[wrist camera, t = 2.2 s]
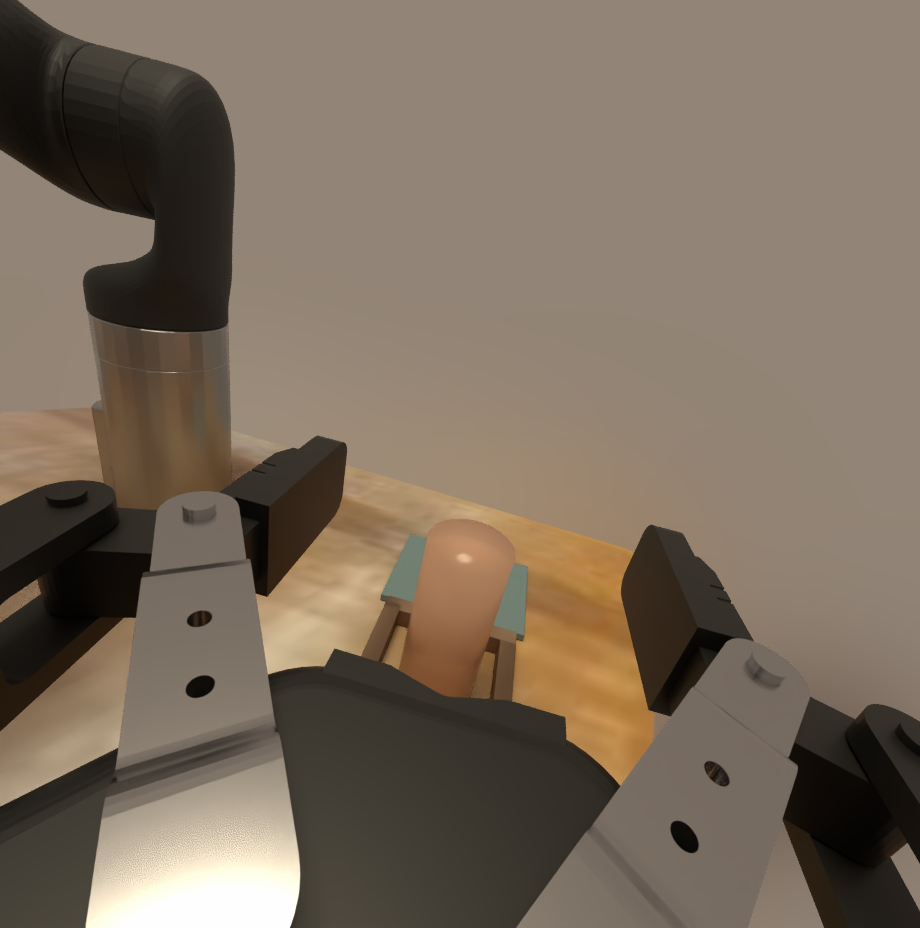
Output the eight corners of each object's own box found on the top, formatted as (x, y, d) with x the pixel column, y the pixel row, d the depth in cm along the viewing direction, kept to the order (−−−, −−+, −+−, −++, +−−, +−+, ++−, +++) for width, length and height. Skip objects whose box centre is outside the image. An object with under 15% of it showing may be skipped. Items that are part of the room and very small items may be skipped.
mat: (380, 599, 37) (381, 594, 36) (409, 538, 45) (410, 534, 45) (522, 640, 36) (524, 635, 36) (525, 571, 44) (527, 566, 44)
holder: (336, 721, 27) (338, 706, 27) (386, 609, 36) (389, 595, 35) (501, 772, 27) (507, 758, 26) (511, 645, 35) (516, 632, 35)
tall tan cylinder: (386, 705, 29) (417, 559, 24) (408, 643, 34) (437, 510, 28) (464, 728, 28) (512, 586, 23) (475, 663, 33) (517, 532, 28)
